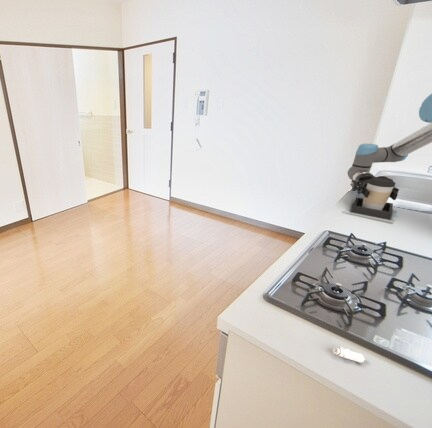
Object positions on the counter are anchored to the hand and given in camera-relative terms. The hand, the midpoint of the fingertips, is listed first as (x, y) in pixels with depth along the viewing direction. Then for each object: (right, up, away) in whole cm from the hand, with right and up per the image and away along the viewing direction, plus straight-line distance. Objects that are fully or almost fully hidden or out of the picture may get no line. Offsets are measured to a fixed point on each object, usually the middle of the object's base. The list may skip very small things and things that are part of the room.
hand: (381, 195), depth 120 cm
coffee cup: (+2, -6, +7) cm, 10 cm away
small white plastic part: (-63, -41, -58) cm, 95 cm away
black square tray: (+2, -6, +8) cm, 10 cm away
